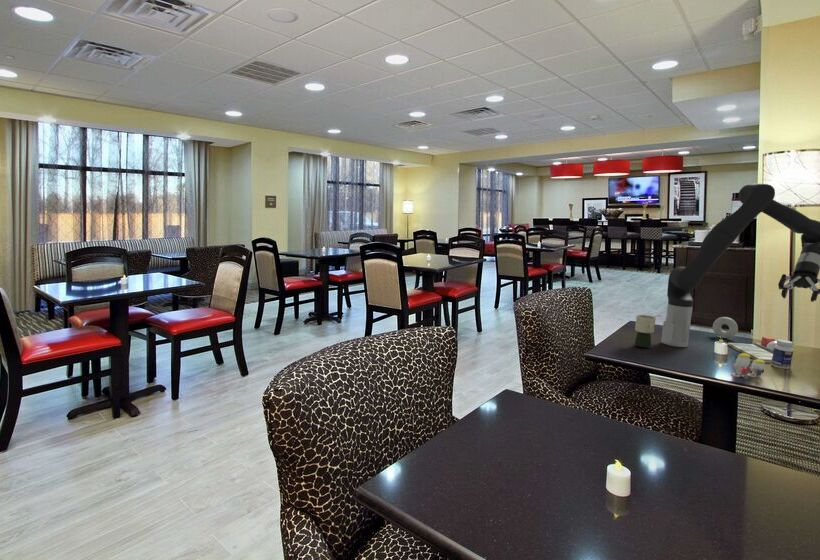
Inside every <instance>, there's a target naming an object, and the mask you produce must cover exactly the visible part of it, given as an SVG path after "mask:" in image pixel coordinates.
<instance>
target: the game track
mask: <svg viewBox="0 0 820 560" xmlns="http://www.w3.org/2000/svg"><path fill="white" fill-rule="evenodd" d="M728 345H729V346H728ZM727 346H728V347H730V348H732V349H733V350H735V351H738V352H739V353H740V354H742V353H745V354H748V355H750V358H751V359H753V360H756V359H759V360H763V361H765V363H764V364H771V362H772V357H773V354H772V353H770V352H768V351H766V350H764V349H761V348H759V347H757V346H755V345H754V343H753V344H751V343H742V342H741V343H740V342H739V343H738V342H727Z"/></svg>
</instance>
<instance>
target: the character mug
mask: <svg viewBox="0 0 820 560" xmlns="http://www.w3.org/2000/svg"><path fill="white" fill-rule="evenodd" d="M635 317H636V318H635V325H634V330H635V331H636V332H637V333H636V336H635V339H634V340H635V341H634V346H636V347H639V348H643V349H645V348H649V349H650V348H651V347H652V336H651V334H653V333H654V332H655V325H656V317H655V316H652V315H648V314H636V316H635Z"/></svg>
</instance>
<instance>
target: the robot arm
mask: <svg viewBox="0 0 820 560" xmlns="http://www.w3.org/2000/svg"><path fill="white" fill-rule="evenodd" d="M775 196H776V190H775V188H774V187H773V186H772V185H770V184H768V183H748V184H746V185H743V187H741V189H739V192H738V199H739V202H740V203H741V205H740V206H739V208H738V209H737V210H736V211H734V212H733V213H731V214H730V215H728V216H727V217H725V218H723V219H722V220H721V221H719V222H718V223H716V224H715V225H714V226H713V227H712V229H710V231H709V232H708V233H707V234H706V235H705V237H704V238H703V240H702V242H701V245H700V247H699V250H698V252H697V254H696V256H695V257H694V258H693V259H692V261H690V263H688V265H687V266H676V267H675V268H673V269H672V270H671V271H670V272H669V276H668V280H667V281H668V282H667V308H666V316H665V320H664V321H663V323H662V332H661V340H660V343H661V344H665V345H667V346H670V347H676V348H686V347H687V348H688V344H689V336H690V328H691V322H692V321H691V320H692V313H693V306H694V299H693V297H692V292H691V290H694V289H695V288H696V287H698V285H699V284H700V283H701V282H702V280H703V279H704V277H705V276H706V274H707V273H708V272H709V270H710V269H711V267H713V265H714V264H715V263H716V262H717V261H718V260H719V259H720V257H721V256H722V255H723V254H724V253H725V252H726V251H727V250H728V249H729V247H731V245H732V244H733V243H734V242H735V241H736V239H738V237H739V236H740V235H741V234H742V232H744V230H746V228H747V227H748V226H749V224H751V223H752V221H753V220H754V219H756V217H757V216H759V215H760V214H761V213H763V214H765V215H767V216H769V217H770V218H771V219H774V220H775V221H777V222H778V223H780V224H781V225H783V226H785V228H788V229H789V230H790V231H792V232H793V233H796V234H801V235H800V241H801V242H800V243H801V251H800V254H799V257H798V259H797V261H796V264H795V267H794V270H793V273H792V275H786V274H785V273H782V275H781V277H780V280H779V282H778V284H777V285H778V290H781V293H780V294H781V297H782V299H786V297H787V294H788V293H789V292H788V291H790V290H792V289H795V288H799V289H801V288H802V289H810V290H811V292H812V293H811V297H810V302H815V301H817V299H818V296H819V295H820V288H818V287H817V286H816V284H818V283H819V284H820V278H818V277H819V274H820V221H818V220H816V219H813V218H809V217H808V216H806V215H805V214H803V213H802V212H800V211H798V210H797V209H794V208H793V207H790V206H788V205H785V204H782V203H781V202H779V201H777V200H774V199H775ZM787 282H788V283H787ZM785 283H786V284H785Z"/></svg>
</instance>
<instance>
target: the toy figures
mask: <svg viewBox="0 0 820 560" xmlns="http://www.w3.org/2000/svg"><path fill="white" fill-rule="evenodd" d="M750 358H751V357H750V355H748V354H745V353H739V354H736V355H734V359H735V362H734V363H733V368H734V371H735V372H732V373H731V375H730V376H731V377H736V378H740V377H741V378H744V377H745V376H746V375H747V376H749V377H753V378H756V377H757V378H758V377H759V378H760V377H761V376H762V374H764V372H765V368H766V365H765V364H766V363H765V361H763V360H759V359H756V360H755V359H753V360H751V359H750ZM750 364H751V366H750ZM749 366H750V367H749Z"/></svg>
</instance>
